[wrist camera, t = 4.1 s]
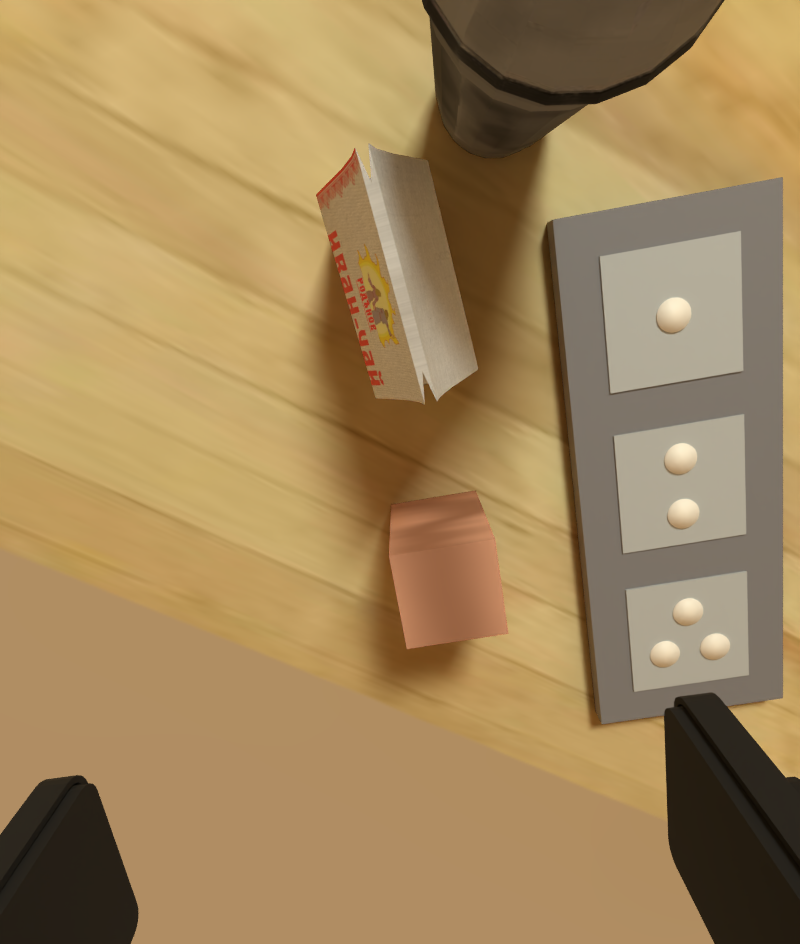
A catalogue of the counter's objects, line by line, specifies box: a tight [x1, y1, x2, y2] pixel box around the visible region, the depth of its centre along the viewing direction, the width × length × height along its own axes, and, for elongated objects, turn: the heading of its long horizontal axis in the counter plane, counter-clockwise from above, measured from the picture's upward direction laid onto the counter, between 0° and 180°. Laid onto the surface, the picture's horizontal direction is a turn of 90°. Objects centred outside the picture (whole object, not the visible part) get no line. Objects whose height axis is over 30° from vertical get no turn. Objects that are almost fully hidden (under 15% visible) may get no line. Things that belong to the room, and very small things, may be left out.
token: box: [389, 491, 508, 649], centre depth 26 cm, size 4×4×6 cm
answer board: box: [547, 177, 783, 724], centre depth 27 cm, size 9×24×1 cm, turn 10°
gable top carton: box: [316, 143, 478, 405], centre depth 21 cm, size 4×7×10 cm, turn 16°
